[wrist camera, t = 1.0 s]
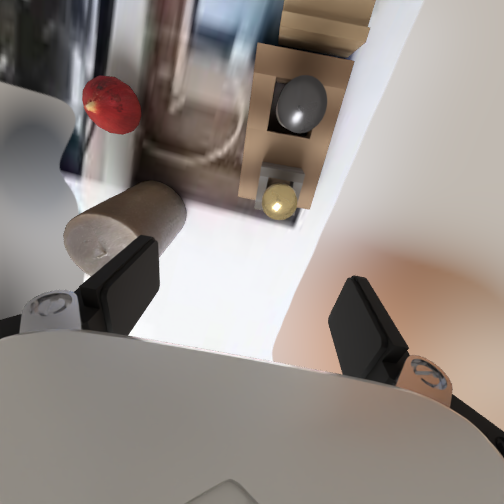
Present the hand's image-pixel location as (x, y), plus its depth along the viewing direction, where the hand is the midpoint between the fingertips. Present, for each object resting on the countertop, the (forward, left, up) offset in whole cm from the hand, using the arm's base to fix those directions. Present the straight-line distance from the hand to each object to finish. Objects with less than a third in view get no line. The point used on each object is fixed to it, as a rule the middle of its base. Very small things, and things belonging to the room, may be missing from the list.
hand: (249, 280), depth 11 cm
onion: (-5, -19, -26) cm, 32 cm away
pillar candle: (+9, -16, -26) cm, 31 cm away
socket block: (-5, +2, -26) cm, 26 cm away
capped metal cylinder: (-8, +2, -26) cm, 27 cm away
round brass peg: (0, +2, -18) cm, 18 cm away
